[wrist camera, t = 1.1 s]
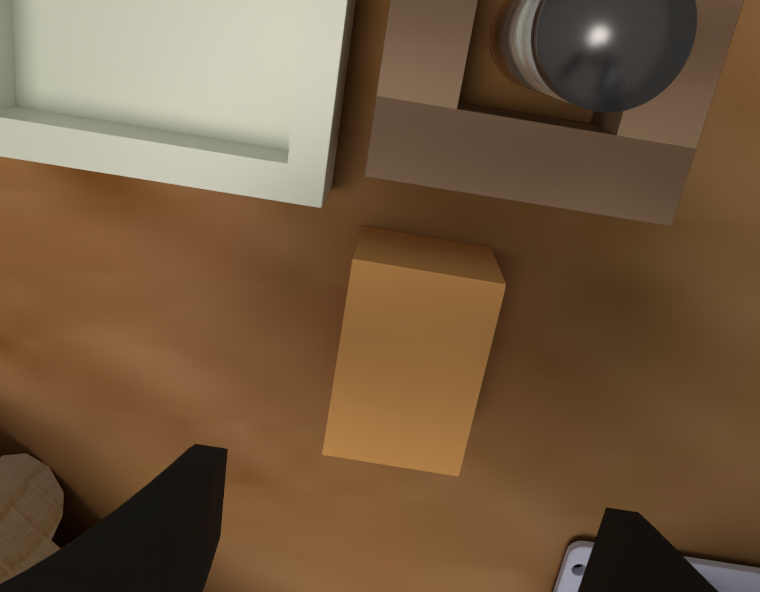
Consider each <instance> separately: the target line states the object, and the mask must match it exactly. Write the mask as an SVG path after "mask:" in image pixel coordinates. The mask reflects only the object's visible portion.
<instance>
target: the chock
mask: <svg viewBox="0 0 760 592" xmlns="http://www.w3.org/2000/svg"><path fill="white" fill-rule="evenodd" d="M505 288H506V283H505V280H504V278H503V275H502V273H501V270H500V268H499V266H498V263H497V261H496V258H495V256H494V253H493V251H492V249H491V247H486V246H480V245H474V244H468V243H462V242H457V241H451V240H445V239H439V238H433V237H427V236H421V235H415V234H409V233H403V232H398V231H392V230H386V229H380V228H374V227H368V226H362V225H361V228H360V232H359V236H358V240H357V244H356V247H355V251H354V255H353V259H352V266H351V272H350V279H349V285H348V292H347V298H346V304H345V311H344V317H343V324H342V330H341V336H340V343H339V349H338V356H337V362H336V369H335V375H334V381H333V388H332V394H331V401H330V407H329V414H328V420H327V426H326V433H325V439H324V446H323V452H322V455H328V456H334V457H340V458H346V459H352V460H359V461H365V462H371V463H377V464H383V465H390V466H396V467H402V468H408V469H415V470H421V471H427V472H433V473H439V474H446V475H452V476H458V477H459V473H460V469H461V465H462V461H463V457H464V453H465V449H466V445H467V441H468V437H469V433H470V429H471V425H472V421H473V417H474V413H475V409H476V405H477V401H478V397H479V393H480V389H481V385H482V381H483V377H484V373H485V369H486V365H487V361H488V357H489V352H490V348H491V344H492V340H493V336H494V332H495V328H496V324H497V320H498V316H499V312H500V308H501V304H502V300H503V296H504V292H505Z"/></svg>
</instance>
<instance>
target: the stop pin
mask: <svg viewBox="0 0 760 592" xmlns="http://www.w3.org/2000/svg"><path fill="white" fill-rule="evenodd" d="M696 29H697V8H696V1H695V0H506V1H505V2H504V3H503V4H502V5H501V7H500V8H499V9H498V11H497V13H496V15H495V17H494V19H493V22H492V25H491V29H490V36H489V44H490V51H491V55H492V58H493V60H494V63H495V64H496V66H497V68H498V69H499V71H500V72H501V73H502V74H503V75H504V76H505V77H506V78H508V79H509V80H510V81H512V82H514V83H516V84H518V85H521V86H524V87H526V88H529V89H532V90H535V91H537V92H540V93H543V94H546V95H549V96H551V97H554V98H557V99H560V100H562V101H565V102H568V103H571V104H573V105H576V106H579V107H582V108H585V109H587V110H592V111H596V112H606V113H607V112H620V111H626V110H629V109H632V108H636V107H638V106H640V105H642V104H645V103H647V102H648V101H650V100H652V99H653V98H655V97H656V96H657V95H659V94H660V93H661V92H663V91H664V90H665V89H666V88H667V87H668V86H669V85H670V84H671V83H672V82H673V81H674V79H675V78H676V77H677V76H678V75H679V73H680V71H681V70H682V68H683V67H684V65H685V63H686V61H687V59H688V57H689V55H690V53H691V50H692V47H693V44H694V40H695V36H696Z"/></svg>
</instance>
